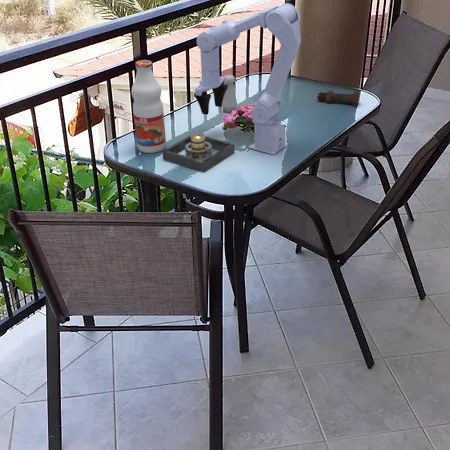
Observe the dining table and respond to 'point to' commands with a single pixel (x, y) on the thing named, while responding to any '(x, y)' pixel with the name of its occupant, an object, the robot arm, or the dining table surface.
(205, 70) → the robot arm
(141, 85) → the fruit juice
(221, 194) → the dining table surface
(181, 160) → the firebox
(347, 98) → the bolt
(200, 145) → the beige cylinder
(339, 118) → the dining table surface
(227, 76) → the salt shaker
